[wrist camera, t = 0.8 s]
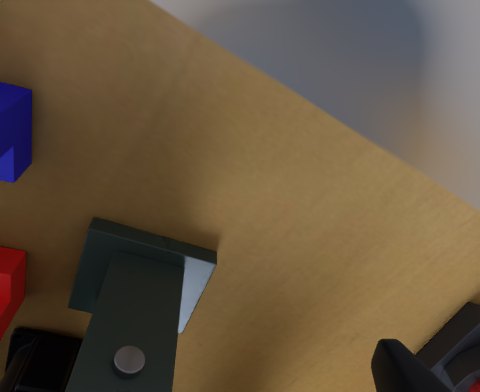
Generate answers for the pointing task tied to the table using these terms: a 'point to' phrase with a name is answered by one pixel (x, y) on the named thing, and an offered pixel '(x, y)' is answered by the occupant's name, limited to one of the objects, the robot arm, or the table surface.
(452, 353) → the button box
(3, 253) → the building blocks
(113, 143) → the table surface
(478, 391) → the red button
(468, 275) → the table surface
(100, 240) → the switch bracket
